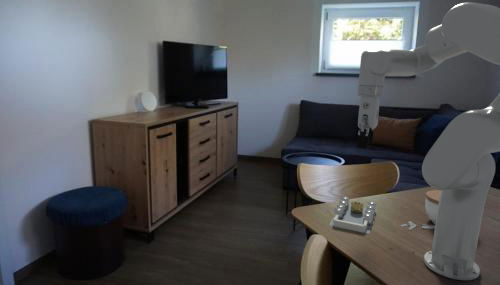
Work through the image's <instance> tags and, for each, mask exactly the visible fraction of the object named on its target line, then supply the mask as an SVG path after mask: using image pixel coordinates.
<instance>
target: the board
mask: <svg viewBox="0 0 500 285" xmlns="http://www.w3.org/2000/svg"><path fill="white" fill-rule="evenodd" d="M366 209H367V207H363V213H362V214H354V213H352V212H351V211H350V210H351V204H349V207H347V211H346V212H344V216H342V219H341V220H339V214H336V216H335V218H334V216H333V217H332V219H331V220H330V222H329V224H328V226H330V227H335V228H339V229H344V230H349V231H353V232H358V233H359V232H360V233H362V234H368V235H369V234H370V233H371V229H372V226H373V223H374V219H375V217H376V215H377V214H376V213H377V209H376V212H375V213H374V217H373V221H372V223H371V225H370V226H367V225H368V220H367V219H365V221H364V224H363V215H364V213H365V210H366Z"/></svg>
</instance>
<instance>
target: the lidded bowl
mask: <svg viewBox="0 0 500 285" xmlns="http://www.w3.org/2000/svg"><path fill="white" fill-rule="evenodd" d="M441 192H442V190H440V189H436V190H433V189H432V190H428V191H427V192H426V193H425V202H424V203H425V204H424V205H425V212H426V215H427V216H428V218H429V219H430V220H431V222H432V223H433V224H434V225H436V218H437V212H438V205H439V199H440V195H441Z"/></svg>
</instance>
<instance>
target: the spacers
mask: <svg viewBox="0 0 500 285" xmlns="http://www.w3.org/2000/svg"><path fill="white" fill-rule="evenodd" d="M367 203H368V204H367V205H366V208H367V209H366V210H365V213H364V215H363V224H364V221H365V219H367V220H368V225H367V226H370V225H371V223H372V221H373V222H374V220H373V217H374V213H375V212H376V213H377V211H376V210H377V202H375V201H370V200H369V201H368V202H367ZM349 205H350V198H349V197H348V196H341V199H340V200H339V202H338V204H336V208H334V214H333V217H334V218H335V216H336V214H339V220H341V219H342V216H344V212H346V211H347V207H349ZM374 218H375V217H374ZM372 224H373V223H372Z"/></svg>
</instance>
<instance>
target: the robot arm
mask: <svg viewBox="0 0 500 285" xmlns="http://www.w3.org/2000/svg"><path fill="white" fill-rule="evenodd" d="M465 53H470V54H472V55H475V56H477V57H479V58H481V59H483V60H485V61H487V62H489V63H491V64H495V65H496V66H497V65H498V66H500V8H499V7H498V6H496V5H491V4H486V3H485V4H484V3H479V2H478V3H477V2H473V1H468V2H467V1H466V2H461V3H458V4H456V5H454V6H453V7H452V8H450V9H449V10H448V11H447V12H446V14H445V15H444V17H443V18H442V21H441V24H440V25H437V26H434V27H432V28H431V29H429V30H428V31H427V33H426V35H425V36H424V44H423V45H420V46H418V47H415V48H413V49H409V50H408V49H393V48H392V49H391V48H387V49H386V48H385V49H380V50H375V49H374V50H364V51H362V53H361V56H360V64H359V65H360V66H359V73H358V74H359V76H358V86H357V96H358V97H360V100H359V108H358V109H359V110H358V115H357V116H358V117H357V118H358V119H357V127H358V128H359V129H358V133H357V140H356V148H357V149H364V150H367V149H368V147H369V144H372V143H373V141H374V132H375V131H374V129H376V128H377V126H378V125H379V112H380V98H383V97H384V89H385V78H386V77H412V76H416V75H419V74H422V73H425V72H427V71H431V70H432V69H435V68H436V67H438V66H439V65H442V63H443V62H444V61H446V60H448V59H451V58H454V57H457V56H460V55H463V54H465ZM498 152H500V92H499V93H498V95H497V96H496V97H495V98H494V99H493V101H492V102H491V103H489V105H488V106H487V107H486V108H483V109H472V110H467V111H464V112H462V113H460V114H458V115H456V117H454V118H453V119H452V120H451V121H450V122H449V123H448V124H447V126H446V127H445V128H444V130H443V131H442V132H441V134H440V135H439V136H438V138H437V139H436V141H435V142H434V143H433V145H432V146H431V148H430V149H429V150H428V151H427V153H426V155H425V157H424V159H423V162H422V166H421V172H422V173H421V174H422V177H423V179H424V180H425V182H426V183H427V184H428V185H429V186H430V187H432V188H434V189H436V190H442V192H441V195H440V199H439V205H438V212H437V218H436V224H434V225H435V229H434V231H433V238H432V247H431V250H429V251H426V252H425V253H424V255H423V259H422V260H423V263H424V264H425V266H426V267H428V269H429V270H431V271H433V272H435V273H436V274H438V275H440V276H442V277H445V278H449V279H452V280H458V281H472V280H476V279H478V278H479V276H480V274H481V268H480V267H479V265H478V264H477V263H476V262H475V260H476V259H475V258H476V254H477V248H478V242H479V238H480V237H479V236H480V231H481V225H482V220H483V215H484V209H485V204H486V200H487V196H488V193H489V190H490V187H491V185H492V183H493V179H494V176H495V174H496V161H495V159H494V156H493V155H492V153H493V154H494V153H498Z"/></svg>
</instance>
